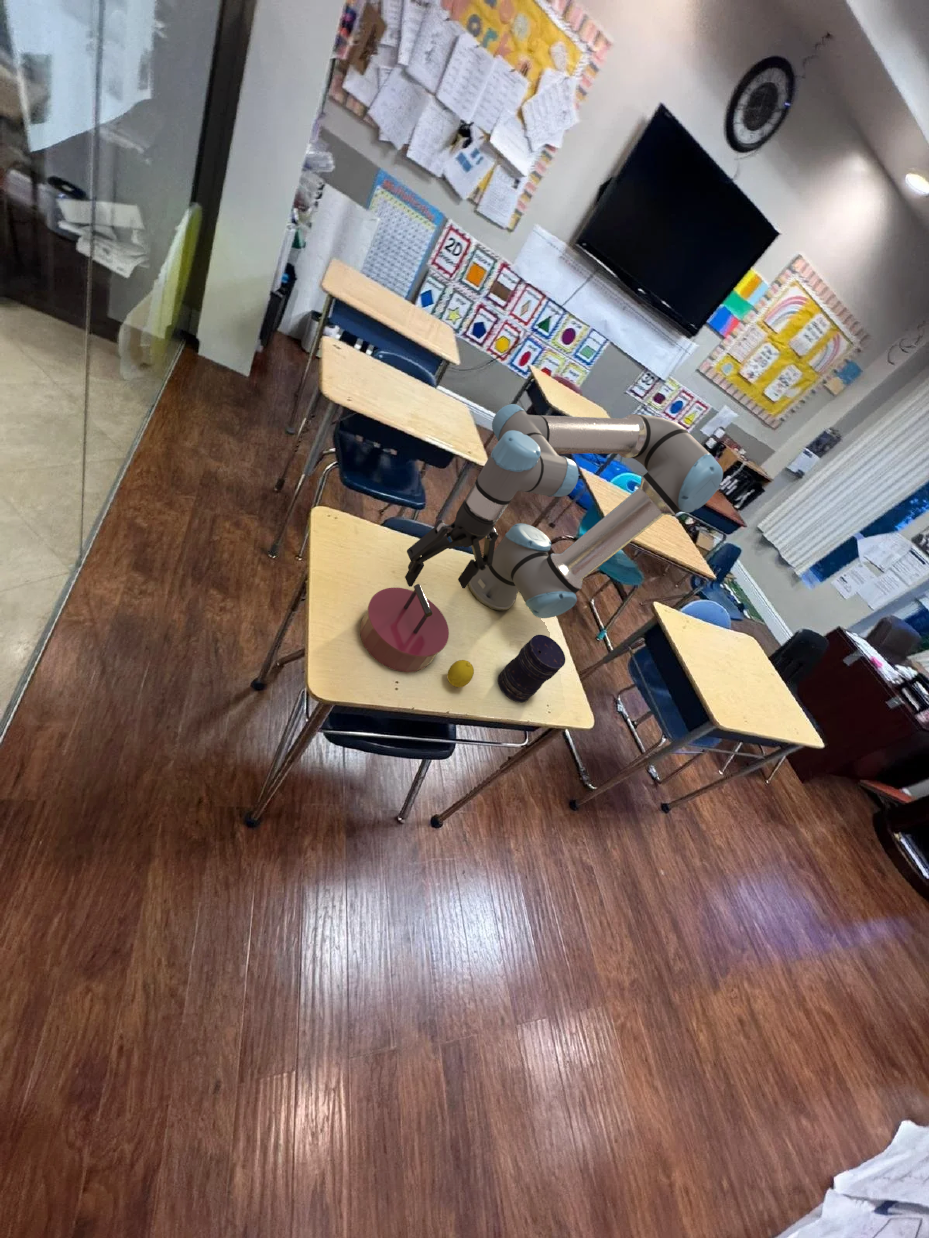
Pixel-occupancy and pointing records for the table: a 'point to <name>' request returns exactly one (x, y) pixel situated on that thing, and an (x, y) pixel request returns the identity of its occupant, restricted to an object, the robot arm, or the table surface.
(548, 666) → the storage jar
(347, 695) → the table surface
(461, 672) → the lemon
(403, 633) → the lid
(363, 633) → the pot
